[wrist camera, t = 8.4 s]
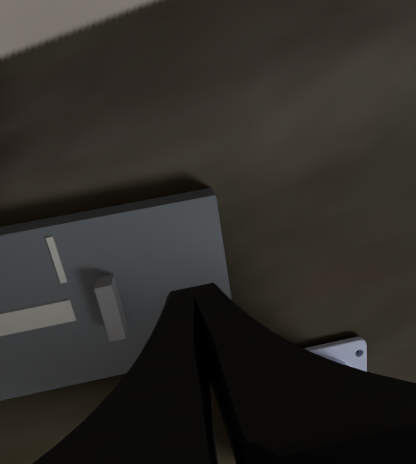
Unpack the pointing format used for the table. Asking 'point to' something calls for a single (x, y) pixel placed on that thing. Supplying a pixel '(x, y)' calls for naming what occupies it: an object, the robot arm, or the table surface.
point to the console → (98, 286)
